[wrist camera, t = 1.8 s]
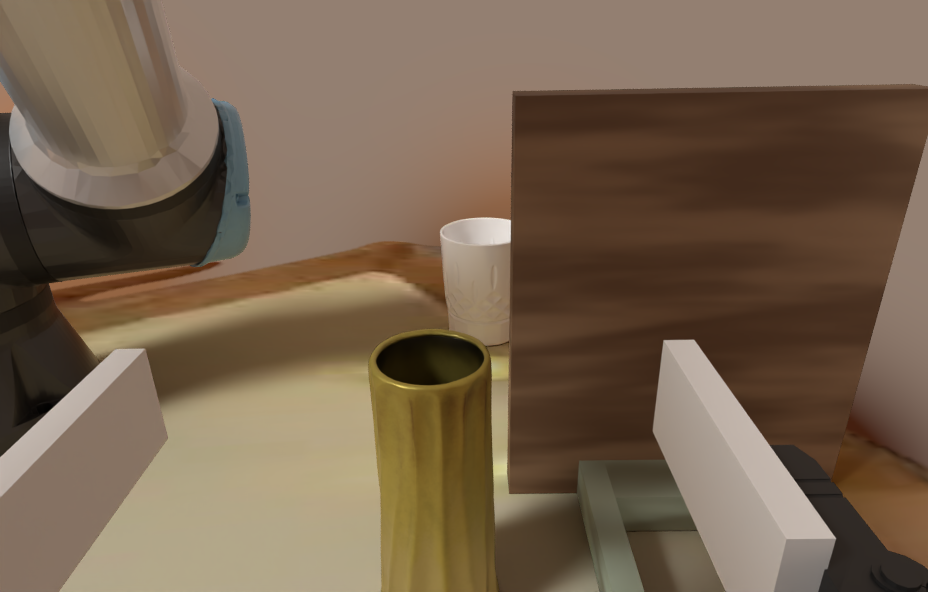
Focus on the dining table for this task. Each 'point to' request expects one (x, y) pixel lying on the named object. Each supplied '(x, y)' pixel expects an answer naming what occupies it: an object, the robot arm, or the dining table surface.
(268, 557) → the dining table surface
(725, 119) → the board
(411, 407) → the vase
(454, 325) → the white cup
